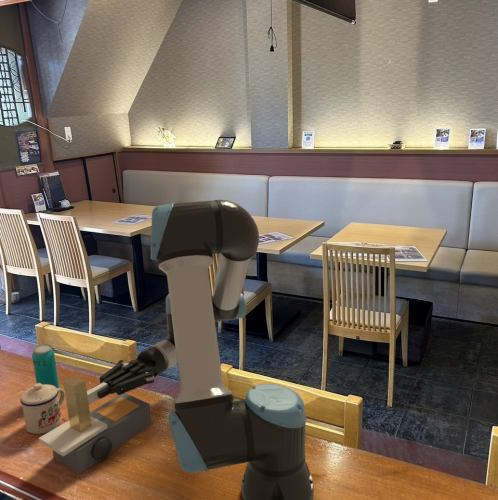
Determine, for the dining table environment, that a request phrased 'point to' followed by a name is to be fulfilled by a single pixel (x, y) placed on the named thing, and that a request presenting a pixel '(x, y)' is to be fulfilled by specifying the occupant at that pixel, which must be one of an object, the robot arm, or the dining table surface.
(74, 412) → the sliding cover
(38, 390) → the teacup with lid
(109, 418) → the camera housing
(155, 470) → the dining table surface
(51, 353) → the beverage can
